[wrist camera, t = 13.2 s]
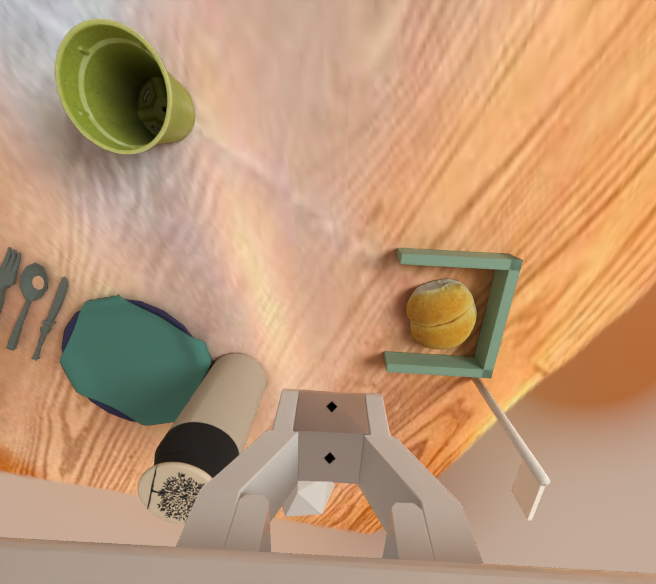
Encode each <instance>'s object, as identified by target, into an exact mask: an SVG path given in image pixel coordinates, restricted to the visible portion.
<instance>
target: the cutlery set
mask: <svg viewBox="0 0 656 584" xmlns="http://www.w3.org/2000/svg"><path fill="white" fill-rule="evenodd" d="M11 252H12V248H11V247H9V248H8V252H7V254H6V257H5V259H4V261H3V263H2V265H1V267H0V312H1V309H2V306H3V302H4V295H5V291H6V288H9V287H10V286H11V285H13V284H15V282H16V277H17V273H18V267H19V264H20V260H21V253H20V252H19V253H18V255H17V258H16V250H13V253H12V256H11ZM10 257H11V259H10ZM15 259H16V261H15ZM14 262H15V263H14ZM38 275H39V276H41V277H42V278H43V280H44V287H43V288H42V289H40V290H37V289H35V288H34V287H33V285H32V279H33V278H34V276H38ZM20 288H21V291H22V293H23V295H24V297H25V298H26V299H27V301H26V303H25V305H24V307H23V310H22V312H21V314H20V316H19V318H18V320H17V323H16V325H15V327H14V330H13V332H12V335H11V337H10V340H9V342H8V345H7V347H6V348H8V349H10V350H12V351H13V350H15V349H16V348H17V344H18V340H19V336H20V333H21V330H22V326H23V323H24V320H25V318H26V315H27V312H28V309H29V307H30V304H31V302H32V301H34V300H37V299H39V298H41V297H42V296H43V295H44V293H45V292H46V290H47V288H48V277H47V275H46V272H45V269H44V267H43V266H41V265H39V264H37V263H34V264H31V265H29V266H27V267H26V268H25V270H24V272H23V273H22V275H21V280H20ZM67 289H68V282H67V278H66V277H63V278H62V281H61V283H60V286H59V289H58V291H57V294H56V297H55V299H54V302H53V305H52V307H51V310H50V313H49V316H48V318H47V319H46V320H44V321H42V322H43V323H44V325H43V326H42V327H41V328H40V330H41V337H40V339H39V343H38V347H37V350H36V352H35V354H34V357H32V359H34V360H38V359H40V358H39V353H40V350H41V347H42V345H43V343H44V340H45V337H46V335H47V334H48V333H49V332H50V331H51V330H52V329H51V326H52V325H53V324H55V323H56V322H54V321H53V320H54V318H55V317H56V315H57V314H58V312H59V310H60V308H61V305H62V303H63V300H64V297H65V295H66V292H67ZM61 348H62V353H63V354H62V356H61V358H60V364H61V366H62V368H63V370H64V372H65V373H66V375H67V377H68V379H69V380H70V382H71V384H72V386H73V387H74V389H75V391H76V392H77V393H79V394H81V395H83V396H85V397H87V398H88V399H89V400H90V401H91V402H93V403H94V404H96V405H98V406H99V407H101V408H102V409H104V410H105V411H107V412H108V413H110V414H113V415H115V416H118V417H121V418H124V419H126V420H129V421H134V422H138V423H140V424H142V425H157V424H163V423H170V422H175V421H176V419H177V418H178V416H179V415H180V413H181V412H182V410H183V409H184V407H185V406H186V405H187V403H188V402H189V400H190V399H191V397H192V396H193V394H194V393H195V391H196V390H197V388H198V387H199V385H200V384H201V382H202V381H203V379H204V378H205V376H206V373H207V371H208V369H209V367H210V365H211V356H210V354H209V352H208V349H207V346H206V343H205V342H203V341H201V340H198V339H195V338H193V337H192V335H191V334H190V333H189V331H188V330H187V329H186V328H185V326H184V325H182V324H181V323H180V322H178V321H177V320H176V319H174V318H173V317H172V316H170V315H169V314H168V313H166V312H165V311H164V310H161V309H159V308H156V307H154V306H151V305H149V304H146V303H144V302H142V301H136V300H127V299H123V298H122V297H121V296H120V295H119V294H118V295H117V296H111V297H104V298H102V299H95V300H89V301H87V302H86V303H84V305H83V306H82V308H81V310H80V311H78V312H77V313H75V315H74V316H73V318H72V319H71V321H70V322H69V323H68V325H67V326H66V328H65V330H64V336H63V342H62V347H61Z"/></svg>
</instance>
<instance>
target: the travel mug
mask: <svg viewBox="0 0 656 584" xmlns="http://www.w3.org/2000/svg"><path fill="white" fill-rule="evenodd" d="M266 384H267V376H266V373H265V370H264V368H263V367H262V366H261V364H260V363H259V362H257V361H256V360H255V359H253V358H252V357H250V356H247V355H244V354H237V353H233V354H227V355H224V356H222V357H220V358H219V359H218V360H217V361H216V362H215V363H214V365H213V366H212V368H211V369H210V371H209V372H208V373H207V375H206V376H205V378H204V379H203V381H202V382H201V384H200V385H199V387H198V388H197V390H196V391H195V393H194V394H193V396H192V397H191V399H190V400H189V402H188V403H187V405H186V406H185V407H184V409H183V410H182V412H181V413H180V415H179V416H178V418H177V419H176V421H175V422H174V424H173V425H172V427H171V428H170V430H169V431H168V433H167V434H166V436H165V437H164V439H163V440H162V441H161V443H160V444H159V446H158V447H157V449H156V452H155V460H154V466H152V467H150V468H149V469H148V470H146V471H145V472H144V473H143V475H142V476H141V478H140V480H139V483H138V494H139V497H140V499H141V501H142V503H143V504H144V506H146V508H147V509H148V510H149V511H150V512H152V513H153V514H154V515H156V516H158V517H159V518H161V519H163V520H166V521H169V522H172V523H176V524H183V525H185V524H186V522H187V519H188V517H189V514H190V512H191V510H192V507H193V505H194V503H195V500H196V498H197V495H198V493H199V491H200V489H201V488H203V487H204V486H205V485H206V484H207V483H208V482H209V481H210V480H212V479H213V478H214V477H215V476H216V475H217V474H218V473H219V472H221V471H222V470H223V469H224V468H225V467H226V466H227V465H228V464H230V463H231V462H232V461H233V460H234V459H235V458H236V457H238V456H239V455H240V454H241V453H242V452H243V449H244V447H245V444H246V441H247V438H248V435H249V433H250V430H251V427H252V424H253V421H254V418H255V416H256V413H257V410H258V407H259V404H260V402H261V399H262V396H263V393H264V390H265V388H266Z"/></svg>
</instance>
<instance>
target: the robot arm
mask: <svg viewBox="0 0 656 584" xmlns="http://www.w3.org/2000/svg"><path fill="white" fill-rule="evenodd" d="M328 479H329V481H328ZM298 481H322V482H338V483H350V484H359V487H360V489H361V491H362V492H363V494H364V495H365V497H366V499H367V500H368V502H369V504H370V505H371V507H372V509H373V510H374V512H375V514H376V515H377V517H378V519H379V520H380V522H381V524H382V525H383V527H384V529H385V530H386V532H387V536H386V541H385V547H384V552H383V557H382V558H365V557H346V556H329V555H311V554H293V553H275V552H274V553H273V552H271V540H270V522H271V520H272V519H273V518H274V516H275V515H276V513H277V512H278V510H279V509H280V508H281V506H282V505H283V503H284V502H285V501H286V499H287V498H288V496H289V495H290V494H291V492H292V491H293V489H294V488H295V487H296V485H297V484H298ZM0 584H656V573H639V572H621V571H603V570H584V569H566V568H549V567H531V566H513V565H494V564H483V562H482V559H481V556H480V553H479V551H478V548H477V545H476V542H475V540H474V537H473V534H472V532H471V529H470V526H469V523H468V520H467V518H466V515H465V512H464V509H463V507H462V504H461V503H460V502H459V501H458V500H457V499H456V498H455V497H454V496H453V495H452V494H451V493H450V492H449V491H448V490H447V489H446V488H445V487H444V486H443V485H442V484H441V483H440V482H439V481H438V480H437V479H436V478H435V477H434V476H433V475H432V474H431V473H430V472H429V470H428V469H427V468H426V467H425V466H424V465H423V464H422V463H421V462H420V461H419V460H418V459H417V458H416V457H415V456H414V455H413V454H412V453H411V452H410V451H409V450H408V449H407V448H406V447H405V446H404V445H403V444H402V443H401V442H400V441H399V440H398V439H397V438H396V437H393V436H390V432H389V427H388V422H387V417H386V412H385V407H384V402H383V396H382V395H381V394H378V393H342V392H325V391H311V390H294V389H283V391H282V392H281V397H280V401H279V405H278V409H277V413H276V417H275V421H274V426H273V430H267V431H266V432H265V433H263V434H262V435H261V436H260V437H259V438H258V439H257V440H256V441H254V442H253V443H252V444H251V445H250V446H249V447H248V448H247V449H245V450H244V451H243V452H242V453H241V454H240V455H239V456H238V457H236V458H235V459H234V460H233V461H232V462H231V463H230V464H228V465H227V466H226V467H225V468H224V469H223V470H222V471H221V472H219V473H218V474H217V475H216V476H215V477H214V478H213V479H212V480H210V481H209V482H208V483H207V484H206V485H205V486H204V487H203V488H201V489H200V491H199V493H198V495H197V498H196V500H195V503H194V505H193V507H192V510H191V512H190V514H189V517H188V519H187V522H186V524H185V526H184V529H183V531H182V533H181V536H180V538H179V540H178V543H177V545H176V547H167V546H148V545H130V544H112V543H94V542H76V541H58V540H39V539H21V538H4V537H0Z"/></svg>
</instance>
